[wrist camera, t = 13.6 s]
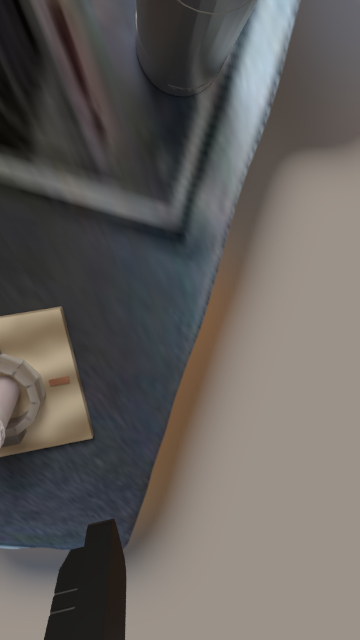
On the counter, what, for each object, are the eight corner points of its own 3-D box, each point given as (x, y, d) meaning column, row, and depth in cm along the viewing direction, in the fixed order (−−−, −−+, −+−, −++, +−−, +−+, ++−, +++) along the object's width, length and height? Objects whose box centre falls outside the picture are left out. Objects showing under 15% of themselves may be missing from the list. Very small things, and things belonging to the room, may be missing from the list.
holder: (-97, 332, 38) (-120, 342, 34) (62, 306, 39) (54, 314, 36) (-45, 460, 43) (-61, 481, 39) (93, 433, 44) (90, 450, 41)
